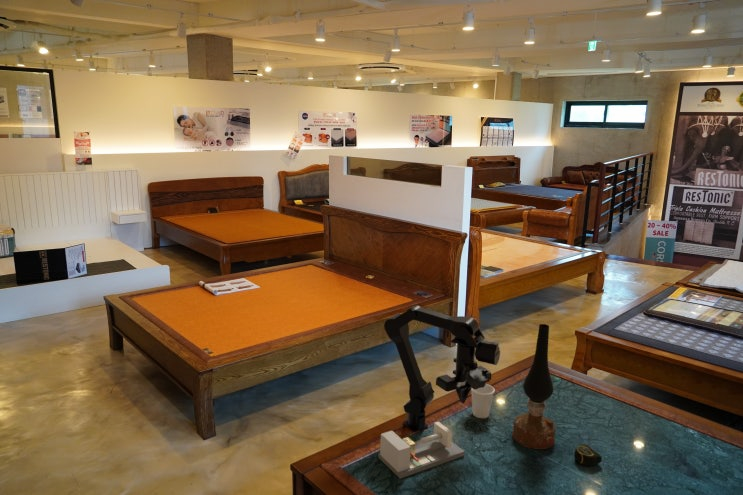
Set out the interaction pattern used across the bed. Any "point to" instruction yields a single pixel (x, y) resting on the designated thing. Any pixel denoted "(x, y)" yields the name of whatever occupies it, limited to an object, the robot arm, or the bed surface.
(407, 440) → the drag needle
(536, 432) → the oil lamp
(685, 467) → the bed surface
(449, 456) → the base
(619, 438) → the bed surface
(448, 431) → the plunger
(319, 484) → the bed surface
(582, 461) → the tape measure
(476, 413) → the dixie cup
